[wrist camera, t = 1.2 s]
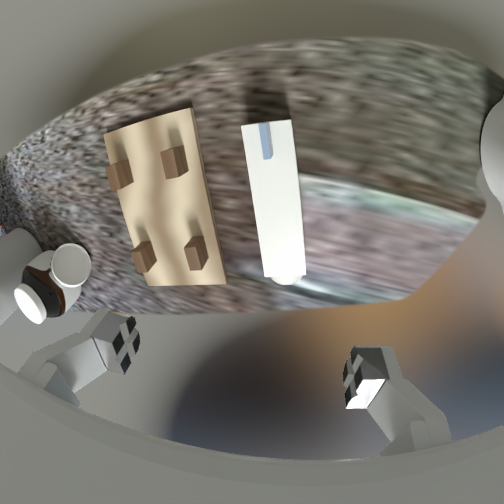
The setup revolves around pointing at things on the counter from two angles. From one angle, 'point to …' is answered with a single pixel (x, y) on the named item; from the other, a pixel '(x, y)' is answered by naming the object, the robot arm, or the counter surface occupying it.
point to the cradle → (166, 200)
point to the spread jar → (52, 282)
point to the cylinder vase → (14, 266)
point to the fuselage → (276, 198)
